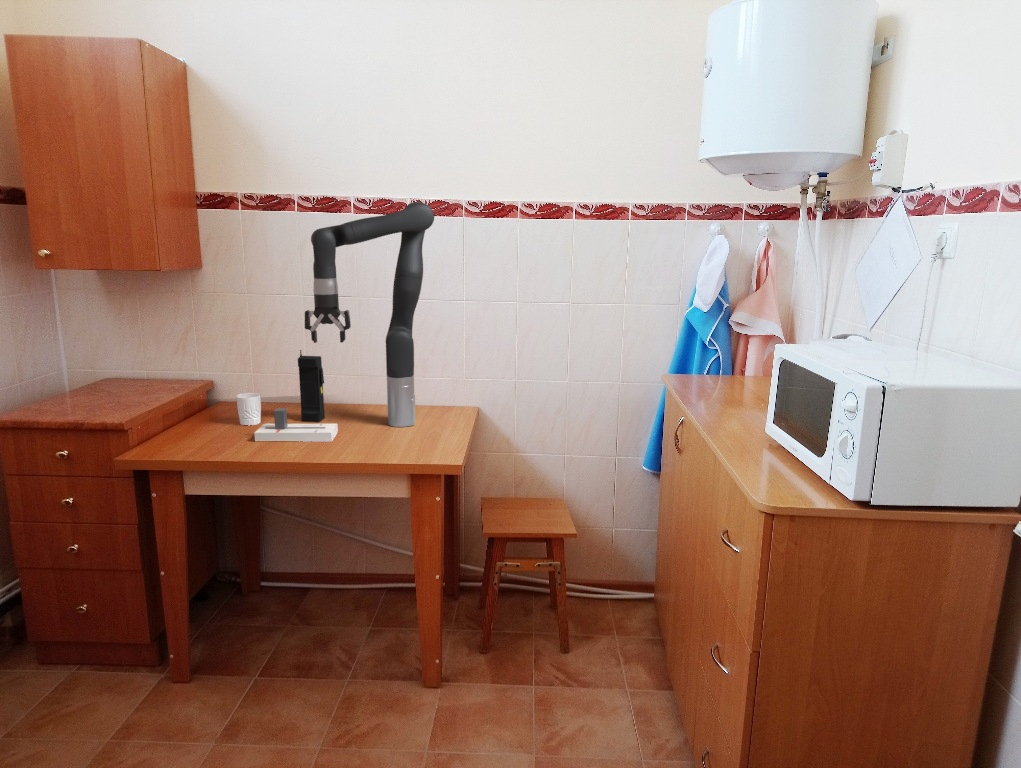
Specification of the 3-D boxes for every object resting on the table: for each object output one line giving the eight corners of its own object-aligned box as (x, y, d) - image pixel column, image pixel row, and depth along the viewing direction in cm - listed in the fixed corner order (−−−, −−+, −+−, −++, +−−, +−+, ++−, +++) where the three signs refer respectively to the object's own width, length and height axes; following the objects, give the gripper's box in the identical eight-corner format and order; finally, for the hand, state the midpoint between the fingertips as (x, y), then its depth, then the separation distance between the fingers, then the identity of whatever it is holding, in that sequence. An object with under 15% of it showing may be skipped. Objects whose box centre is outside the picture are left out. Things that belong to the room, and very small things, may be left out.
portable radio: (328, 417, 246) (325, 348, 240) (322, 422, 240) (318, 352, 234) (307, 417, 246) (303, 348, 241) (300, 421, 241) (296, 351, 235)
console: (337, 432, 229) (337, 423, 228) (331, 441, 219) (331, 431, 219) (264, 432, 228) (263, 423, 227) (255, 441, 218) (254, 432, 217)
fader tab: (287, 425, 224) (286, 408, 223) (284, 429, 221) (283, 411, 220) (278, 425, 224) (277, 408, 223) (275, 429, 221) (273, 411, 219)
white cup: (261, 425, 235) (259, 397, 233) (236, 427, 234) (234, 398, 231) (263, 419, 243) (261, 391, 240) (239, 420, 241) (237, 392, 239)
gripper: (350, 291, 224) (352, 340, 228) (306, 291, 224) (309, 340, 227) (346, 293, 217) (348, 344, 221) (300, 293, 216) (303, 344, 220)
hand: (328, 342), depth 224 cm, fingers open, 8 cm apart
